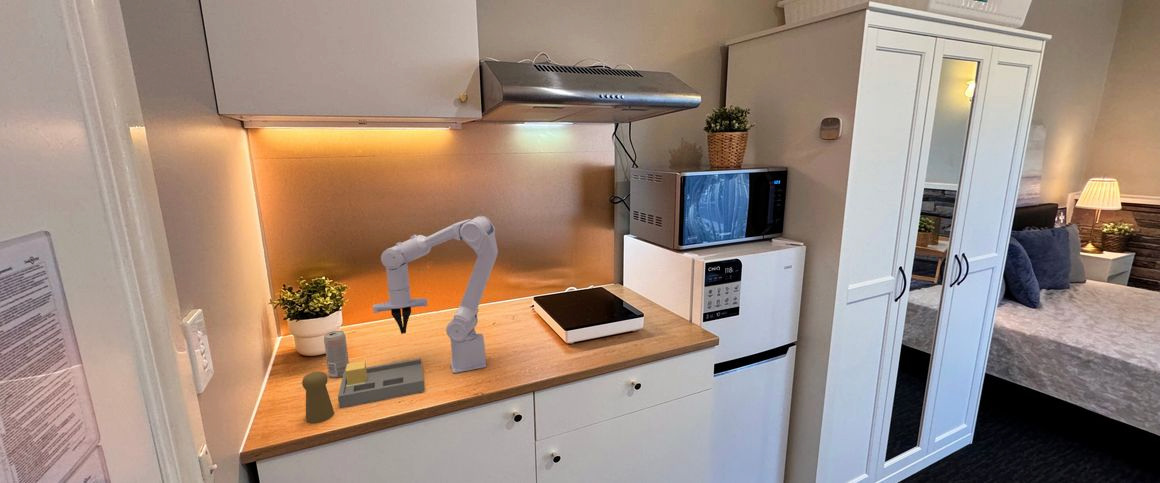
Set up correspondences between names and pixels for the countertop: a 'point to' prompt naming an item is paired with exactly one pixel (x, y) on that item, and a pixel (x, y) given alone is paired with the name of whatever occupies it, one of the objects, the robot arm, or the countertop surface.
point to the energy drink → (336, 353)
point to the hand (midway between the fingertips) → (403, 332)
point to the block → (356, 373)
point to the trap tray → (383, 383)
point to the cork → (317, 398)
